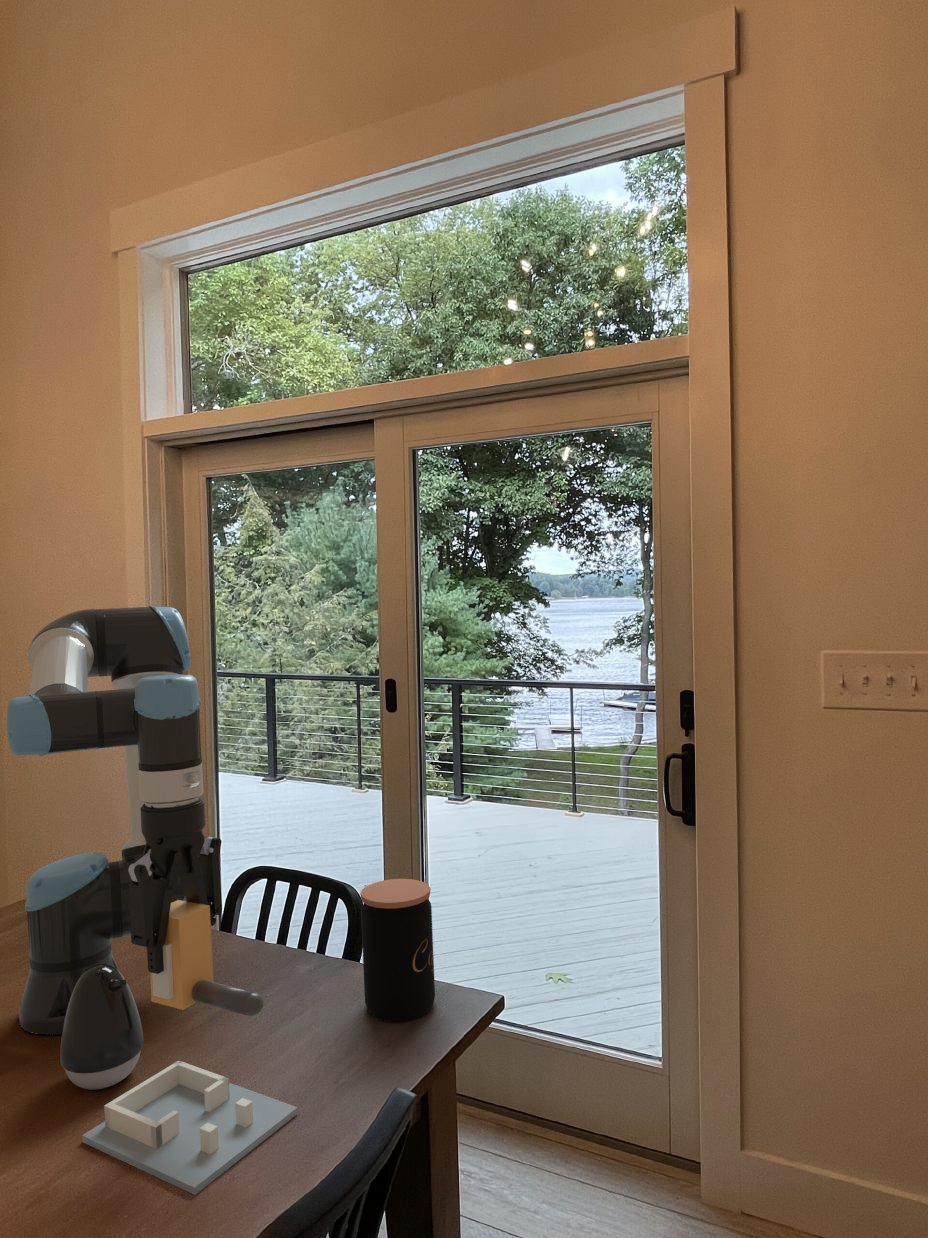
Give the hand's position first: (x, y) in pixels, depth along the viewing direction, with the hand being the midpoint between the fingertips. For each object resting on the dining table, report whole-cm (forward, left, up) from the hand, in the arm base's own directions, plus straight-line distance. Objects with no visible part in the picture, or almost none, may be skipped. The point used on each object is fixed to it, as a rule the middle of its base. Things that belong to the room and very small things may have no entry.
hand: (181, 986), depth 107 cm
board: (+4, -3, -15) cm, 16 cm away
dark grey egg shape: (-15, -1, -15) cm, 21 cm away
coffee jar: (+9, +33, -15) cm, 38 cm away
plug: (+5, 0, -1) cm, 5 cm away
